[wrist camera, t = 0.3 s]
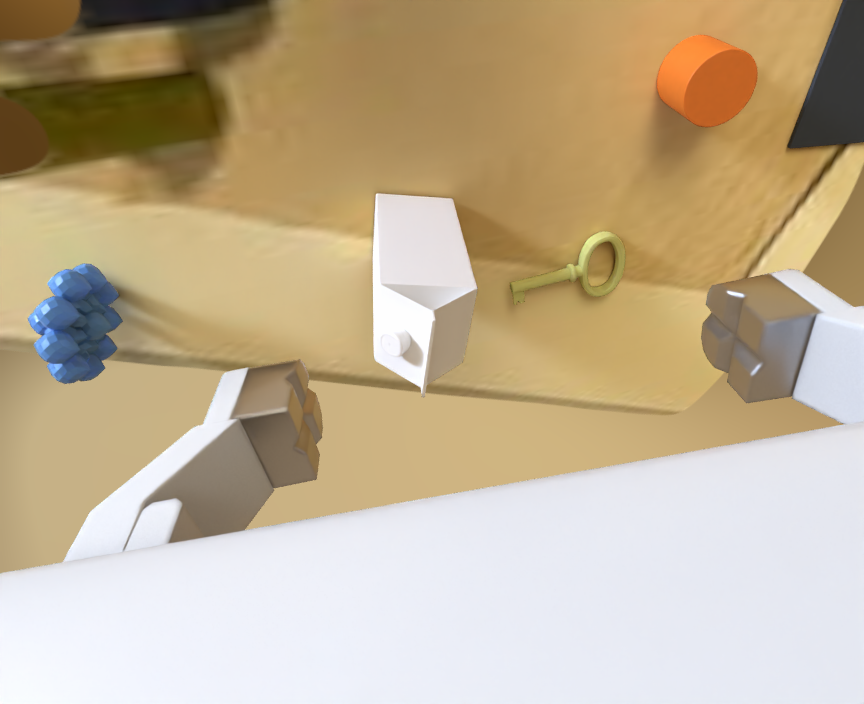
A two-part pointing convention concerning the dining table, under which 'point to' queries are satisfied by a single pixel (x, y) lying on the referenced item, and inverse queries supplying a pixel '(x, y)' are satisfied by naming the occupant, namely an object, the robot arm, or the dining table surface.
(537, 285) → the key
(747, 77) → the cylinder
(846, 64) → the mat
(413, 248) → the milk carton
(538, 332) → the dining table surface
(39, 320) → the grapes
